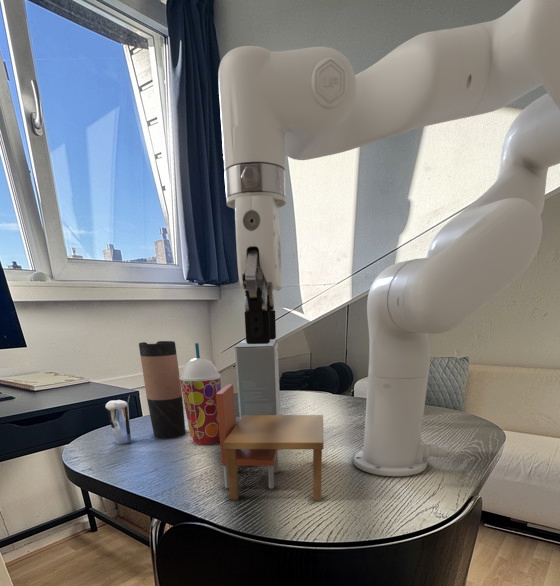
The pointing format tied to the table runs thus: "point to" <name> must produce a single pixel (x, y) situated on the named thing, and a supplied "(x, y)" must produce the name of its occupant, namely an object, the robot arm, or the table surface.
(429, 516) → the table surface
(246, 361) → the hard drive box
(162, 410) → the travel mug
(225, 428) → the chair
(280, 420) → the mini table
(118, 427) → the milkshake
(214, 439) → the smoothie
